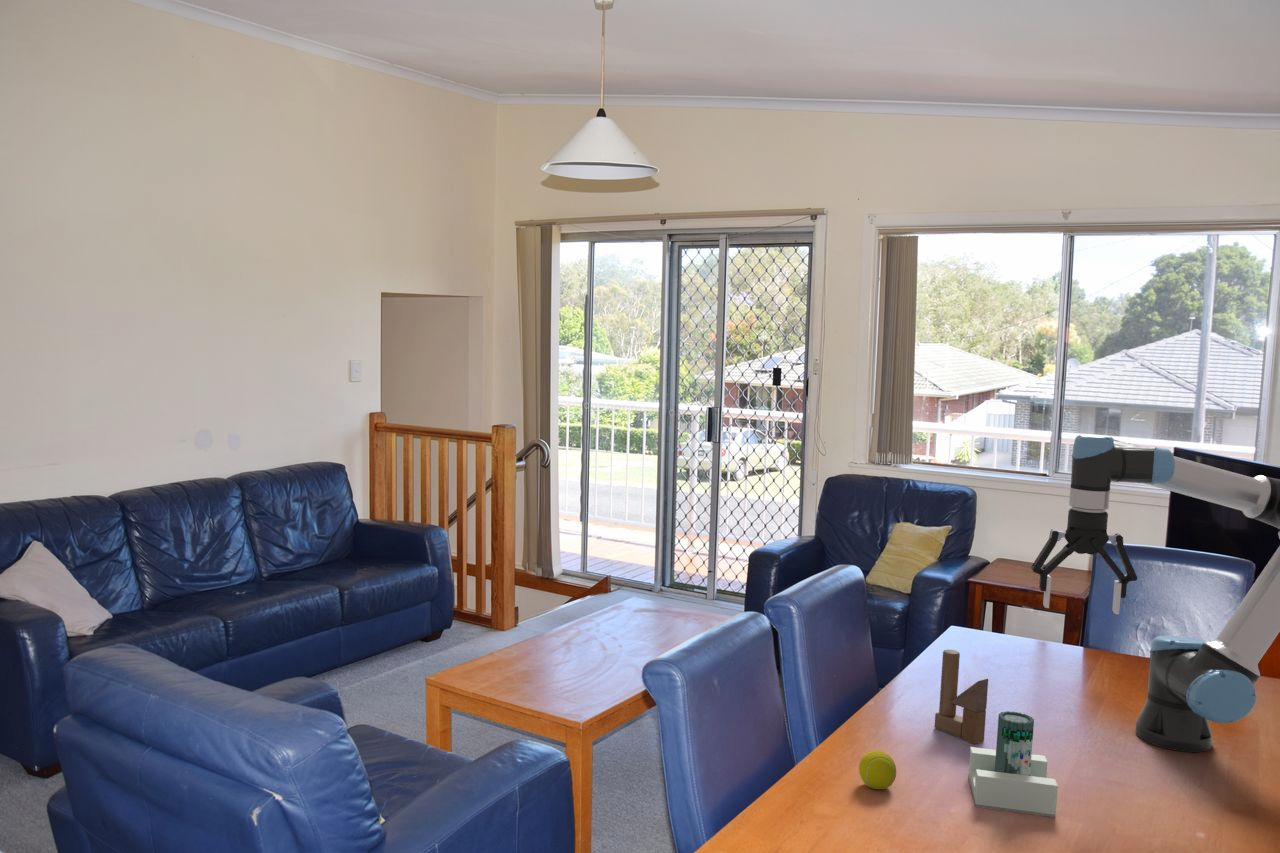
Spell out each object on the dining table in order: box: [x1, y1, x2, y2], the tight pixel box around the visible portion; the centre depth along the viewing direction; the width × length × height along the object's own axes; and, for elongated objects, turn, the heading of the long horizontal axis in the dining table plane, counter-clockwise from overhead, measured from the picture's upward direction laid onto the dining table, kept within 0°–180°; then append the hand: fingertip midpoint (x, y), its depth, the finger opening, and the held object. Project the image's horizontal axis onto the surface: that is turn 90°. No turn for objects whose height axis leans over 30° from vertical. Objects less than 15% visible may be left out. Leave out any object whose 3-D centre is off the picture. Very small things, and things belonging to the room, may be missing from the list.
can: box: [995, 710, 1035, 776], centre depth 193 cm, size 6×6×15 cm
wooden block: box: [934, 649, 989, 745], centre depth 222 cm, size 4×11×18 cm, turn 35°
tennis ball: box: [858, 750, 897, 790], centre depth 195 cm, size 7×7×7 cm
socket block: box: [967, 746, 1059, 818], centre depth 193 cm, size 14×14×6 cm
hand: (1080, 609), depth 211 cm, fingers open, 13 cm apart
